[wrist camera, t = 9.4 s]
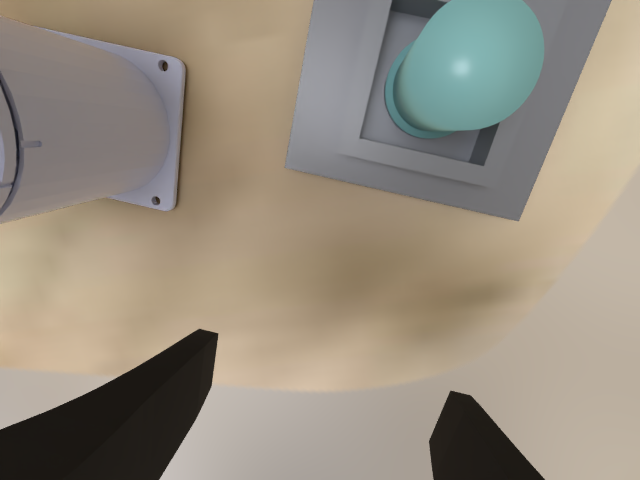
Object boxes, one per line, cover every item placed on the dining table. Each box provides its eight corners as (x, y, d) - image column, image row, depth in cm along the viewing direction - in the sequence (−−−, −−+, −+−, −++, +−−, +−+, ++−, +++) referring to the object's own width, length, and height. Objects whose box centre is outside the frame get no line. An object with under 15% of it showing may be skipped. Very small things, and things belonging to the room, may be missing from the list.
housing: (289, 165, 18) (275, 171, 15) (362, -243, 13) (364, -359, 10) (508, 215, 18) (539, 232, 15) (671, -185, 13) (771, -286, 10)
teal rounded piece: (373, 127, 16) (384, 124, 10) (398, 28, 15) (426, -40, 9) (460, 147, 16) (520, 154, 10) (493, 48, 14) (583, -7, 9)
